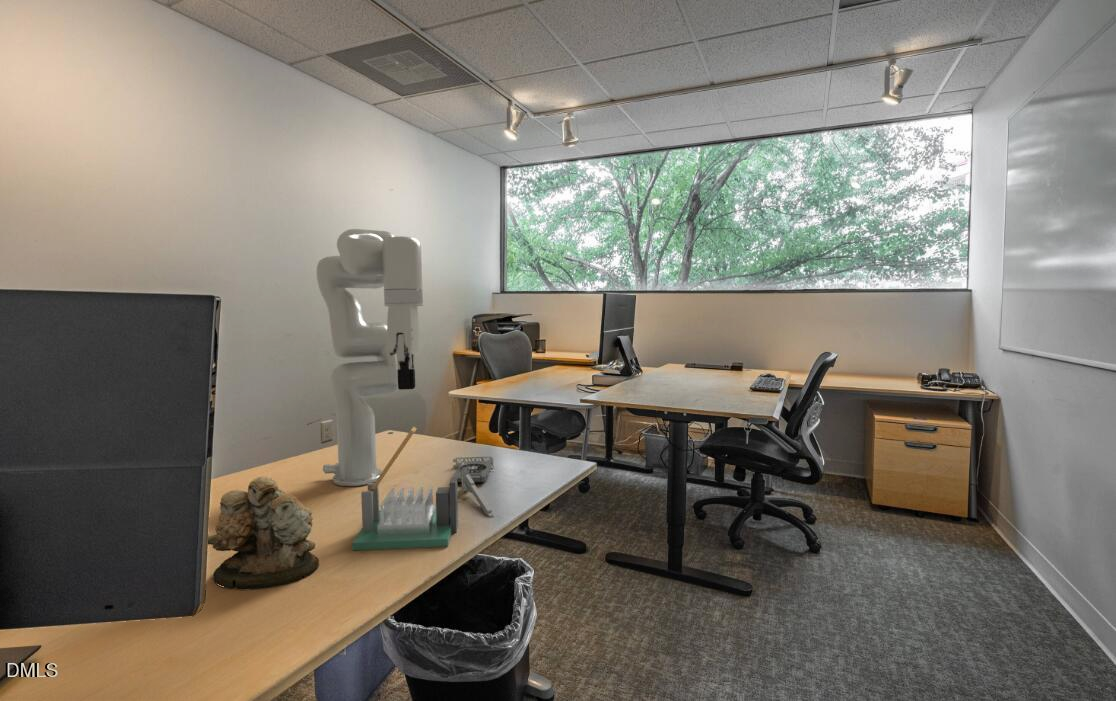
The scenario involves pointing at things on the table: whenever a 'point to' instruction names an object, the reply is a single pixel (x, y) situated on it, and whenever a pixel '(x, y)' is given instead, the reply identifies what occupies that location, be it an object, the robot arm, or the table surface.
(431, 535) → the motherboard
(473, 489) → the caliper
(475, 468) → the graphics card
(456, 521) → the lug
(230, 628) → the table surface
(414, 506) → the heat sink
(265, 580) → the owl figurine
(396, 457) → the strap
